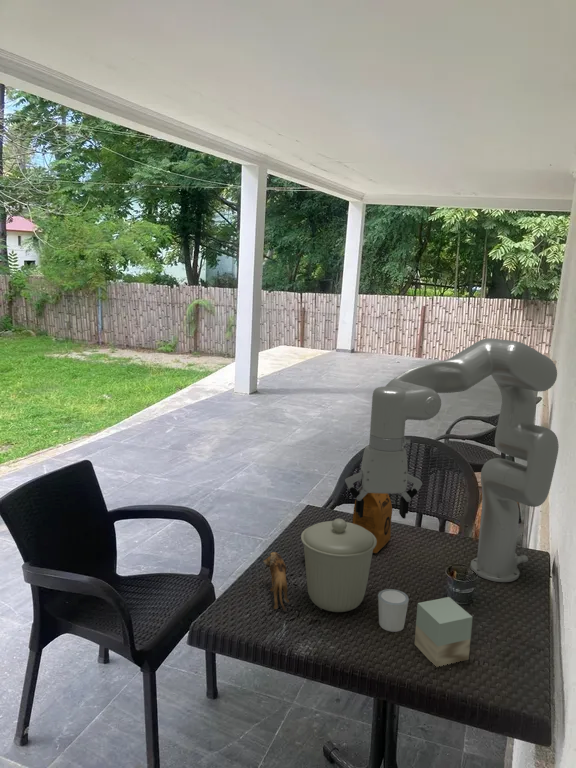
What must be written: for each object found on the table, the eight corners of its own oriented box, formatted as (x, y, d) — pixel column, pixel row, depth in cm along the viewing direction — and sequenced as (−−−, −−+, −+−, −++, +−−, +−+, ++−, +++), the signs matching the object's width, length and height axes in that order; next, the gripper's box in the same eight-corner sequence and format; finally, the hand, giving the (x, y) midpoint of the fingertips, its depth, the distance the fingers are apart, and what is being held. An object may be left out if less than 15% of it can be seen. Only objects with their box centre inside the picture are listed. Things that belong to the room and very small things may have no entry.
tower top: (447, 617, 127) (449, 596, 126) (470, 638, 119) (472, 616, 118) (416, 624, 124) (417, 603, 123) (437, 646, 117) (439, 623, 116)
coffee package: (395, 543, 173) (400, 473, 169) (376, 558, 163) (381, 484, 160) (366, 534, 179) (370, 466, 175) (346, 548, 169) (349, 476, 165)
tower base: (445, 638, 128) (447, 617, 127) (468, 660, 120) (470, 638, 119) (414, 645, 125) (416, 624, 124) (436, 668, 118) (437, 646, 117)
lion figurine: (261, 583, 148) (262, 550, 147) (281, 580, 150) (282, 548, 148) (275, 614, 134) (276, 579, 133) (297, 611, 136) (298, 576, 134)
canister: (319, 574, 153) (322, 499, 150) (383, 594, 144) (389, 515, 141) (285, 606, 138) (287, 523, 134) (354, 631, 129) (359, 543, 125)
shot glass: (406, 635, 128) (408, 606, 127) (375, 630, 129) (377, 602, 128) (406, 618, 135) (408, 590, 133) (377, 614, 136) (378, 586, 135)
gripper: (420, 439, 132) (414, 510, 135) (345, 437, 131) (341, 508, 134) (429, 448, 124) (423, 523, 127) (350, 446, 123) (345, 521, 126)
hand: (381, 515), depth 131 cm, fingers open, 9 cm apart
